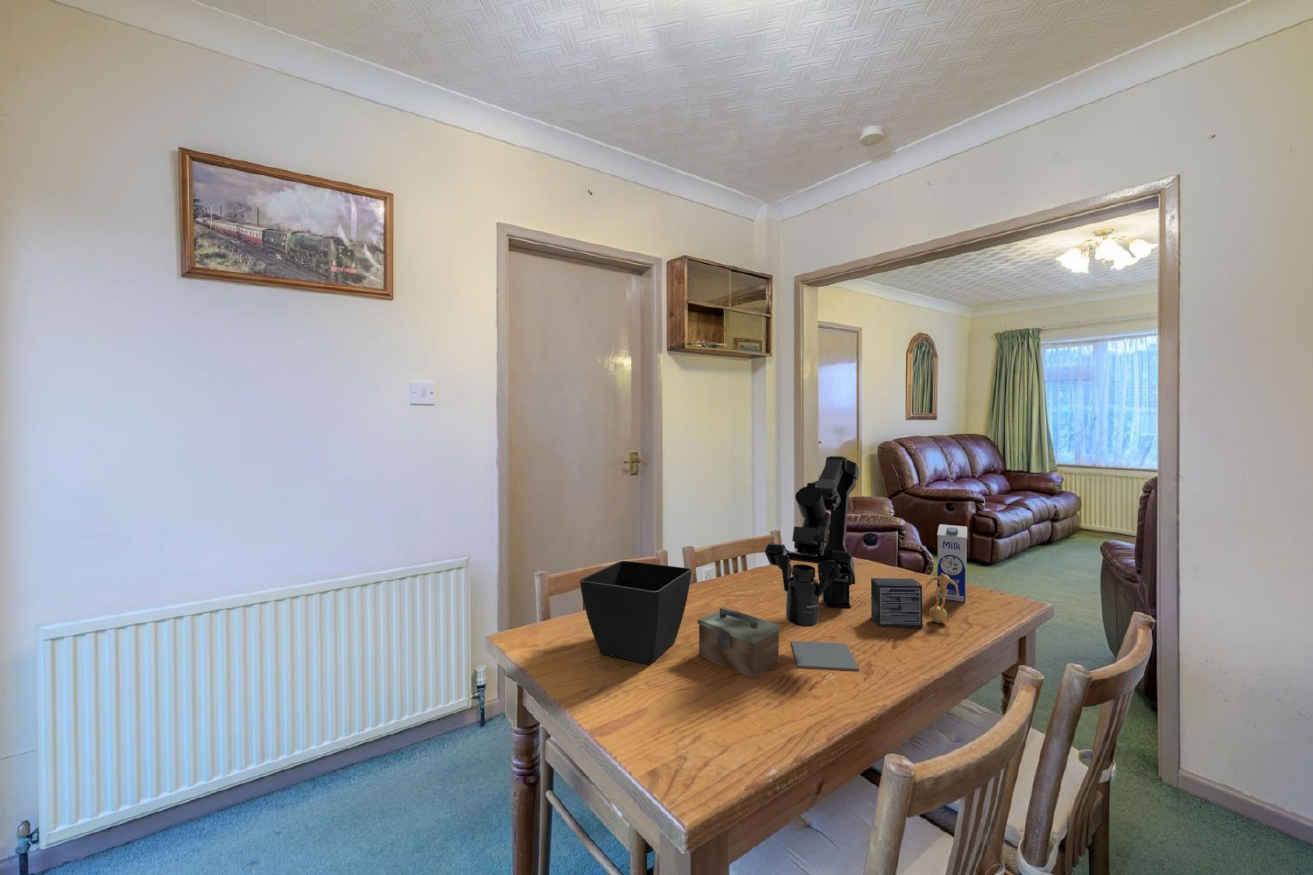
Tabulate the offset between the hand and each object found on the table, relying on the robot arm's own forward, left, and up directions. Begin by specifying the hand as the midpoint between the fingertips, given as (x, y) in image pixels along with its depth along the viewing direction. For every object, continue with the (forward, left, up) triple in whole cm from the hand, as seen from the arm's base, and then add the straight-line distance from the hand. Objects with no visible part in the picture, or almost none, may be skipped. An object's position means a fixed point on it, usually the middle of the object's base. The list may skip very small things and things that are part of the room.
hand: (801, 593), depth 114 cm
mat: (-4, 0, -13) cm, 14 cm away
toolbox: (+14, +4, -13) cm, 19 cm away
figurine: (-36, -23, -13) cm, 45 cm away
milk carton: (-46, -42, -13) cm, 64 cm away
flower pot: (+36, +1, -14) cm, 38 cm away
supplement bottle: (0, -1, -7) cm, 7 cm away
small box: (-25, -21, -14) cm, 35 cm away
